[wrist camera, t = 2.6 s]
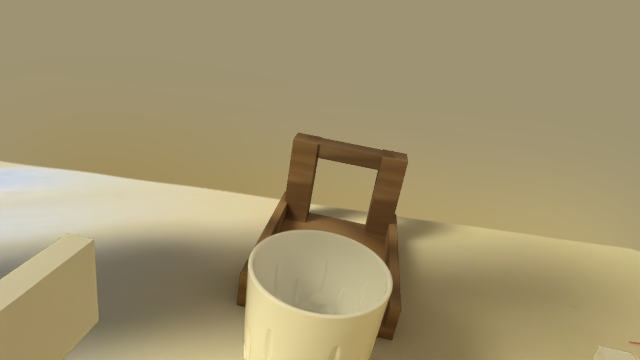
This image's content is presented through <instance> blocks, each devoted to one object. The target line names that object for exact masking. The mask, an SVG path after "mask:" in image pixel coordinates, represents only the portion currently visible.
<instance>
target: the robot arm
mask: <svg viewBox="0 0 640 360" xmlns="http://www.w3.org/2000/svg"><path fill="white" fill-rule="evenodd" d="M98 321H99V312H98V296H97V279H96V262H95V245H94V239H91V238H87V237H82V236H77V235H72V234H68V233H67V234H66V235H64V236H63V237H61V238H60V239H58V240H57V241H56V242H54V243H53V244H51V245H50V246H48V247H47V248H45V249H44V250H42V251H41V252H39V253H38V254H37V255H35V256H34V257H32V258H31V259H29V260H28V261H26V262H25V263H23V264H22V265H20V266H19V267H18V268H16V269H15V270H13V271H12V272H10V273H9V274H7V275H6V276H4V277H3V278H1V279H0V360H63V359H64V358H65V356H66V355H67V354H68V353H69V352H70V351H71V350H72V349H73V348H74V347H75V346H76V345H77V344H78V343H79V342H80V340H81V339H82V338H83V337H84V336H85V335H86V334H87V333H88V332H89V331H90V330H91V329H92V328H93V327H94V326H95V324H96V323H97V322H98ZM592 360H636V358H635V357H634V356H633V354H632V353H629V352H625V351H620V350H615V349H611V348H606V347H601V346H599V347H598V349H597V351H596V353H595V355H594V357H593V359H592Z"/></svg>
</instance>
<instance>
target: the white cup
mask: <svg viewBox="0 0 640 360" xmlns="http://www.w3.org/2000/svg"><path fill="white" fill-rule="evenodd" d="M392 288H393V280H392V276H391V273H390V271H389V269H388V267H387V265H386V264H385V263H384V261H383V260H382V259H381V258H380V257H379V256H378V255H377V254H376V253H374V252H373V251H372V250H371V249H369V248H368V247H366V246H364V245H363V244H361V243H359V242H357V241H355V240H353V239H350V238H348V237H345V236H342V235H339V234H335V233H331V232H326V231H319V230H291V231H285V232H281V233H277V234H274V235H272V236H270V237H268V238H266V239H264V240H262V241H261V242H260V243H259V244H257V245H256V246H255V248H254V249H253V250H252V252H251V254H250V256H249V260H248V276H247V292H246V308H245V323H244V360H368V359H369V357H370V355H371V352H372V349H373V346H374V343H375V340H376V337H377V334H378V331H379V328H380V325H381V322H382V319H383V316H384V313H385V310H386V307H387V304H388V301H389V298H390V295H391V292H392Z"/></svg>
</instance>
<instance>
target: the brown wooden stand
mask: <svg viewBox="0 0 640 360" xmlns="http://www.w3.org/2000/svg"><path fill="white" fill-rule="evenodd" d="M318 158H321V159H327V160H331V161H337V162H341V163H346V164H351V165H357V166H361V167H366V168H371V169H376V170H378V173H377V177H376V181H375V186H374V190H373V194H372V199H371V203H370V208H369V212H368V216H367V220H366V225H365V224H360V223H355V222H350V221H346V220H341V219H336V218H331V217H327V216H322V215H317V214H312V213H309V209H310V203H311V196H312V191H313V185H314V179H315V173H316V167H317V161H318ZM407 164H408V159H407V154H404V153H399V152H394V151H388V150H380V149H375V148H370V147H364V146H359V145H354V144H349V143H344V142H339V141H334V140H329V139H324V138H321V137H318V136H313V135H307V134H302V133H298V134H297V135H296V137H295V138H294V140H293V147H292V154H291V161H290V168H289V175H288V182H287V189H286V192H285V193H284V195H283V196H282V198H281V200H280V202H279V204H278V206H277V207H276V209H275V211H274V213H273V215H272V216H271V218H270V220H269V222H268V224H267V225H266V227H265V229H264V231H263V233H262V235H261V236H260V238H259V240H258V242H257V244H259V243H260V242H261V241H262V240H264V239H266V238H268V237H270V236H272V235H274V234H277V233H281V232H285V231H291V230H319V231H326V232H331V233H335V234H339V235H342V236H345V237H348V238H350V239H353V240H355V241H357V242H359V243H361V244H363V245H364V246H366V247H368V248H369V249H371V250H372V251H373V252H374V253H376V254H377V255H378V256H379V257H380V258H381V259H382V260H383V261H384V263H385V264H386V265H387V267H388V269H389V271H390V273H391V276H392V280H393V288H392V292H391V295H390V298H389V301H388V304H387V307H386V310H385V313H384V316H383V319H382V322H381V325H380V328H379V331H378V334H377V336H378V337H382V338H386V339H391V340H392V338H393V335H394V332H395V328H396V325H397V321H398V318H399V315H400V311H401V299H400V279H399V260H398V241H397V221H396V214H395V210H396V207H397V203H398V199H399V195H400V191H401V187H402V183H403V179H404V175H405V172H406V168H407ZM257 244H256V245H257ZM256 245H255V246H256ZM254 248H255V247H254ZM248 260H249V258H248ZM248 260H247V262H246V264H245V265H244V267H243V269H242V271H241V273H240V280H239V289H238V299H237V304H238V305H242V306H246V292H247V276H248Z"/></svg>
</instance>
